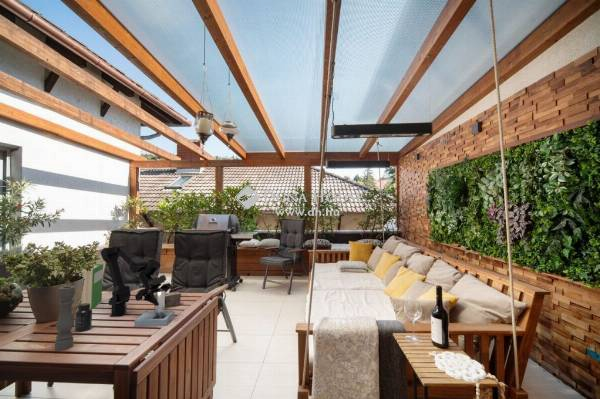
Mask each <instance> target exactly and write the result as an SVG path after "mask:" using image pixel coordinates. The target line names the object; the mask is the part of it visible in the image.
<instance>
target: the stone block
mask: <svg viewBox="0 0 600 399" xmlns="http://www.w3.org/2000/svg"><path fill="white" fill-rule="evenodd" d="M154 296H155V298H156V295H154ZM165 297H166V303H165V308H164V309H168V308H173V307H178V306H180V305H181V299H182V298H181V297H182V293H181V292H179V291H178V292H177V291H176V292H169V293H165Z"/></svg>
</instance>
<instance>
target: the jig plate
mask: <svg viewBox="0 0 600 399" xmlns="http://www.w3.org/2000/svg"><path fill="white" fill-rule="evenodd" d="M174 317H175V310H164V317H162V318H155V310H151V311H150V310H149V311H148V310H147V311H145V312H144V313H142V314H140V316H139V317H137V318H136V319H135V320H134V328H140V327H141V328H142V327H161V326H163V327H164V326H167V325H168V324H169V323H170V321H171V320H172V319H173V318H174Z"/></svg>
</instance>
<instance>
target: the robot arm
mask: <svg viewBox="0 0 600 399" xmlns="http://www.w3.org/2000/svg"><path fill="white" fill-rule="evenodd" d="M100 255H101V258H102V260H103V261H104V262H105V263H107V266H108V270H109V275H110V278H111V281H112V285H113V289H112V291H111V298H110V299H109V300H108V305H109V306H111V310H110V311H111V314H110V315H109V317H123V316H124V315H125V314H127V313H128V312H127V310H128V309H127V308H128V305H127V303H129V301H130V298H131V293H132V292H131V289H130V285H126V284H125V283H124V280H123V277H122V272H121V269H120V265H119V262H118V259H119V257H120V258H122V260H124V261H125V262H126V263H127V265H128V268H129V270H130V271H131V272H132V273H133V274H137V275H136V277H135V280H136V281H138V280H140V282H141V284H142V285H141V287H142V289H139V291H138V292H137V293H136V294H135V296H134V298H135V300H136V301H137V302H140V301H142V300H143V301H146V302H149V303H151V304H153V305H154V306H155V305H156V306H158V305H159V304H158V302H157V300H156V298H155V296H156V295H155V294H156V291H161V290H164V291H165V294H167V293H168V291H169V290H170V289H171V288H172V284H171V283H170V282H167V283H165V282H166V281H167V276H166V275H165V274H162V275H160V276H159V277H154V276H153V275H155V274H156V273H157V271H159V269H160V268H161V263H160V262H159V261H158V260H155V259H154V258H151V259H149V260H148V261H145V260H143V259H141V258H138V257H136V256H135V255H134V254H133V253H132V252H131V251H130V250H129V249H128V248H127V247H126V246H125V245H124V244H121V245H115V246H111V247H110V246H108V247H104V248H102V250H101V251H100ZM138 273H139V274H138ZM163 283H164V284H163ZM165 303H166V297H165Z"/></svg>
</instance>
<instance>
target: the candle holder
mask: <svg viewBox="0 0 600 399" xmlns="http://www.w3.org/2000/svg"><path fill="white" fill-rule="evenodd" d="M57 291H58V292H57V293H58V294H57V295H58V299H59V301H58V305H59V306H60V309H59V315H58V318H57V321H56V325H55V330H56V331H57V333H58V334H57V336H56V337H55V341H54V351H55V352H61V351H62V352H63V351H67V350H69V349H71V348H73V347H74V334H73V332H72V329H73V327H75V319H74V316H73V312H72V310H73V309H72V307H73V306H72V305H73V303H75V302H74V301H75V300H74V299H73V298H74V296H75V295H76V285H66V286H61V287H58V290H57ZM66 349H67V350H66Z"/></svg>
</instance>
